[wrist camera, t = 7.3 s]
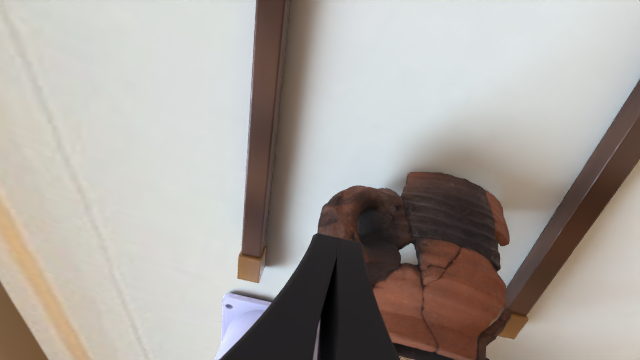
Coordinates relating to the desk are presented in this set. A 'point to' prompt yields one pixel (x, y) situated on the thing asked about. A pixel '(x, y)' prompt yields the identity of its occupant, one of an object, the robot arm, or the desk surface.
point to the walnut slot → (549, 250)
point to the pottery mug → (429, 261)
